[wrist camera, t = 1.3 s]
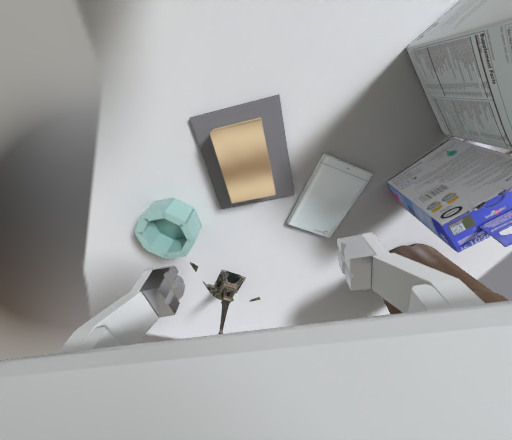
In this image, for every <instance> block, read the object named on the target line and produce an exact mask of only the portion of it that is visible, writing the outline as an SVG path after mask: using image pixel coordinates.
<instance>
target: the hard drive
mask: <svg viewBox="0 0 512 440" xmlns="http://www.w3.org/2000/svg"><path fill="white" fill-rule="evenodd" d="M372 176H373V174H372V173H371V172H369V171H366V170H364V169H361V168H359V167H356V166H354V165H352V164H349V163H347V162H344V161H342V160H339V159H337V158H335V157H332V156H330V155H327V154H325V153H323V155H322V157H321V159H320V161H319V162H318V164H317V166H316V168H315V170H314V172H313V173H312V175H311V177H310V179H309V181H308V183H307V185H306V187H305V188H304V190H303V192H302V194H301V196H300V198H299V200H298V201H297V203H296V205H295V207H294V209H293V211H292V213H291V215H290V216H289V218H288V220H287V223H288V224H289V225H291V226H294V227H297V228H300V229H303V230H306V231H309V232H312V233H315V234H318V235H321V236H324V237H327V238H330V237H331V236H332V234H333V233H334V231H335V230H336V228H337V227H338V225H339V224H340V222H341V221H342V220H343V218H344V217H345V215H346V214H347V212H348V211H349V210H350V208H351V207H352V205H353V204H354V202H355V201H356V199H357V198H358V197H359V195H360V194H361V192H362V191H363V189H364V188H365V186H366V185H367V183H368V182H369V180H370V179H371V177H372Z"/></svg>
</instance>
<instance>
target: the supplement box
mask: <svg viewBox="0 0 512 440" xmlns="http://www.w3.org/2000/svg"><path fill="white" fill-rule="evenodd" d="M407 51H408V54H409V56H410V59H411V61H412V63H413V66H414V68H415V70H416V73H417V75H418V77H419V80H420V82H421V84H422V87H423V89H424V91H425V94H426V96H427V98H428V100H429V103H430V105H431V107H432V110H433V112H434V114H435V116H436V118H437V121H438V123H439V125H440V128H441V130H442V132H443V133H444V134H446V135H451V136H455V137H459V138H463V139H467V140H471V141H475V142H479V143H483V144H487V145H491V146H495V147H500V148H504V149H508V150H512V0H461V1H460V2H459V3H458V4H457V5H455V6H454V7H453V8H452V9H451V10H450V11H448V12H447V13H446V14H445V15H444V16H443V17H441V18H440V19H439V20H438V21H437V22H436V23H434V24H433V25H432V26H431V27H430V28H429V29H427V30H426V31H425V32H424V33H423V34H422V35H420V36H419V37H418V38H417V39H416V40H414V41H413V42H412V43H411V44H410V45H408V47H407Z"/></svg>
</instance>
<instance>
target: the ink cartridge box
mask: <svg viewBox="0 0 512 440" xmlns="http://www.w3.org/2000/svg"><path fill="white" fill-rule="evenodd" d="M387 184H388V185H389V187H390V189H391V191H392V192H393V194H394V196H395V198H396V199H397V201H398V203H399V204H400V205H401V206H403V207H404V208H405V209H406V210H408V211H409V212H410V213H411V214H412V215H413V216H415V217H416V218H417V219H418V220H419V221H421V222H422V223H423V224H424V225H425V226H426V227H428V228H429V229H430V230H431V231H432V232H433V233H435V234H436V235H437V236H438V237H439V238H441V239H442V240H443V241H444V242H445V243H447V244H448V245H449V246H450V247H451V248H453V249H454V250H455V251H457V252H460V251H462V250H464V249H466V248H468V247H470V246H472V245H474V244H476V243H478V242H480V241H482V240H484V239H486V238H488V237H490V236H492V237H493V238H494V239H496V240H497V241H499V242H500V243H501V244H502V245H503V246H504V247H507V246H509V245H511V244H512V234H508V235H500V234H499V232H500V231H502V230H504V229H506V228H508V227H510V226H512V156H511V155H508V154H504V153H501V152H497V151H494V150H490V149H487V148H484V147H480V146H477V145H473V144H470V143H467V142H463V141H460V140H457V139H454V138H453V139H450V140H449V141H447V142H446V143H444V144H443V145H441V146H440V147H438V148H437V149H436V150H434V151H433V152H431V153H430V154H428V155H427V156H425V157H424V158H422V159H421V160H419V161H418V162H416V163H415V164H413V165H412V166H410V167H409V168H407V169H406V170H404V171H403V172H401V173H400V174H398V175H397V176H395V177H394V178H392V179H391V180H389V181H388V182H387Z"/></svg>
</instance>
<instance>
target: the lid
mask: <svg viewBox="0 0 512 440" xmlns="http://www.w3.org/2000/svg"><path fill="white" fill-rule="evenodd" d="M210 136H211V139H212V142H213V146H214V149H215V152H216V155H217V158H218V161H219V164H220V168H221V171H222V174H223V177H224V180H225V183H226V186H227V190H228V193H229V196H230V199H231V202H232V203H237V202H242V201H247V200H253V199H258V198H263V197H268V196H273V195H276V193H275V186H274V181H273V176H272V171H271V165H270V160H269V155H268V150H267V145H266V140H265V135H264V130H263V125H262V120H261V117H260V118H256V119H252V120H248V121H244V122H240V123H236V124H232V125H228V126H224V127H220V128H216V129H213V130H212V131H211V132H210Z"/></svg>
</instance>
